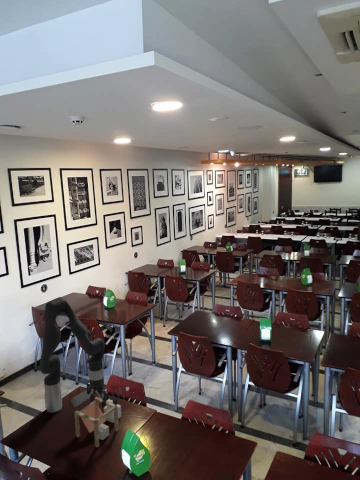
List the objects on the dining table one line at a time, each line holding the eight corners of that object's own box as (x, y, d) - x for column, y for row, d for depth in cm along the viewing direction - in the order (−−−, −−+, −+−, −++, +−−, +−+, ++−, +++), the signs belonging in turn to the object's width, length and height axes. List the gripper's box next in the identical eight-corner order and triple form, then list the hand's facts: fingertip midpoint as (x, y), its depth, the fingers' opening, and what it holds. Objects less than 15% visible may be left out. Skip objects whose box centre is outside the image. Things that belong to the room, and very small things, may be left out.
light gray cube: (95, 428, 193) (102, 431, 191) (102, 423, 197) (108, 426, 195) (95, 437, 194) (102, 440, 191) (102, 431, 198) (109, 434, 195)
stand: (76, 436, 195) (74, 411, 193) (98, 420, 208) (96, 396, 206) (97, 447, 186) (95, 421, 184) (118, 430, 199) (117, 405, 197)
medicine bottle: (112, 412, 215) (111, 393, 213) (121, 416, 211) (120, 397, 209) (103, 419, 209) (102, 399, 207) (112, 423, 205) (111, 403, 203)
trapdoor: (69, 401, 197) (72, 398, 195) (86, 390, 207) (89, 387, 205) (88, 434, 192) (91, 431, 190) (104, 421, 202) (108, 419, 200)
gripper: (81, 375, 192) (83, 403, 194) (100, 383, 184) (102, 412, 186) (92, 369, 198) (94, 396, 200) (111, 376, 190) (112, 405, 192)
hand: (98, 404), depth 193 cm, fingers open, 8 cm apart
